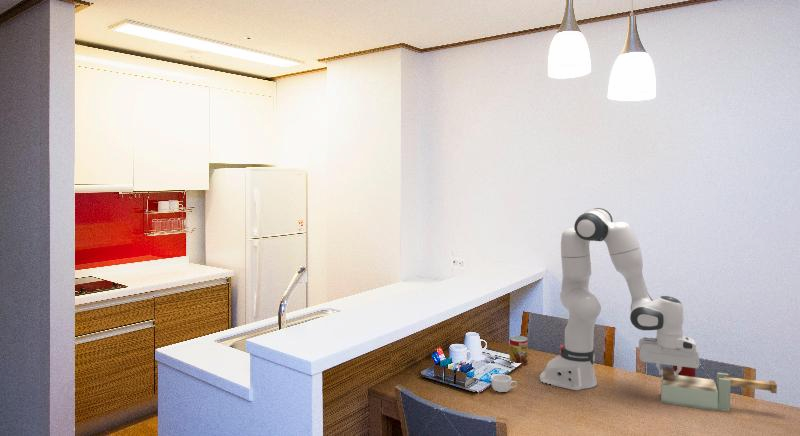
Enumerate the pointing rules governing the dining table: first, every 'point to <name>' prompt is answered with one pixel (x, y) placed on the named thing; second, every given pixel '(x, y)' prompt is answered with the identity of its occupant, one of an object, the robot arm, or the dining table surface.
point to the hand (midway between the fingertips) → (668, 375)
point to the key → (754, 384)
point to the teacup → (502, 382)
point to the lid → (687, 381)
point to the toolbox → (699, 395)
